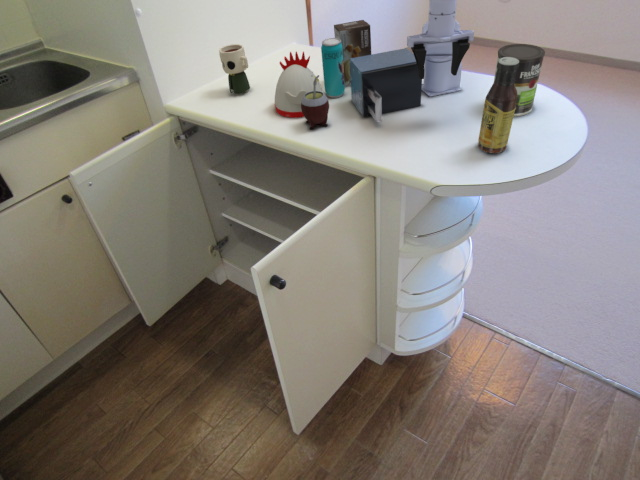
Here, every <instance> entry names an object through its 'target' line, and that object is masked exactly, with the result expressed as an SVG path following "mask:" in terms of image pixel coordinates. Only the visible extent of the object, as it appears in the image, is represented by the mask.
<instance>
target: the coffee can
mask: <svg viewBox="0 0 640 480" xmlns="http://www.w3.org/2000/svg"><path fill="white" fill-rule="evenodd" d="M545 55H546V50H545V49H544V48H542V47H540V46H538V45H534V44H529V43H513V44H507V45H504V46H501V47H499V48H498V50H497V60H496V66H495V72H494V78H493V82H494V81H495V78H496V73H497V63H498V60H499V59H500V58H503V57H513V58H516V59H518V60H519V67H518V69H517V72H516V76H515V82H514V85H515V87H516V89H517V100H516V104H515V105H516V107H515V112H514V116H513V117H522V116H525V115H528V114H530V113H531V112H532V110H533V107H534V102H535V96H536V92H537V88H538V83H539V78H540V74H541V69H542V66H543V61H544V57H545Z"/></svg>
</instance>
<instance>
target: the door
mask: <svg viewBox="0 0 640 480" xmlns="http://www.w3.org/2000/svg"><path fill="white" fill-rule="evenodd" d="M361 76H362V105H363V116H362V117H363V118H368V117H372V118H373V119H374V121H375V122H378V123H379V122H382V121H383V114H387V113H388V114H389V113H392V112H398V111H403V110H407V109H413V108H417V107H421V105H422V84H423V79H420V78H419V74H418V67H417V63H412V64H406V65H401V66H396V67H391V68H385V69H380V70H375V71H369V72H364V73H361Z"/></svg>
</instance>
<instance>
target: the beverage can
mask: <svg viewBox="0 0 640 480" xmlns="http://www.w3.org/2000/svg"><path fill="white" fill-rule="evenodd" d="M320 52H321V62H322V73H323V84H324V85H323V86H324V92H325V95H326V97H327V98H331V99H337V98H341V97H343V96H344V93H345V89H346V87H345V81H344V64H343V48H342V44H341V40H340V39H338V38H335V37H328V38H325V39H323V40H321V47H320Z"/></svg>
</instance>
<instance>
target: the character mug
mask: <svg viewBox="0 0 640 480" xmlns="http://www.w3.org/2000/svg"><path fill="white" fill-rule="evenodd" d="M218 52H219V53H218V54H219V60H220V62H221V65H222V66H221V67H222V70H223V71H224V73H225V74H227V75H228V76H227V78H228V88H229V92H230V94H232V93H233V94H234V95H241V94H244V93H246V92H247V91H249V90H250V89H251V86H250V85H251V84H250V82H249V79H248V76H247V73H246V72H245V71H246V70H247V69H249V62H248V58H247V56H246V52H245V48H244V46H243V45H242V44H240V43H231V44H227V45H224V46H222V47H220V48H219V50H218Z"/></svg>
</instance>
